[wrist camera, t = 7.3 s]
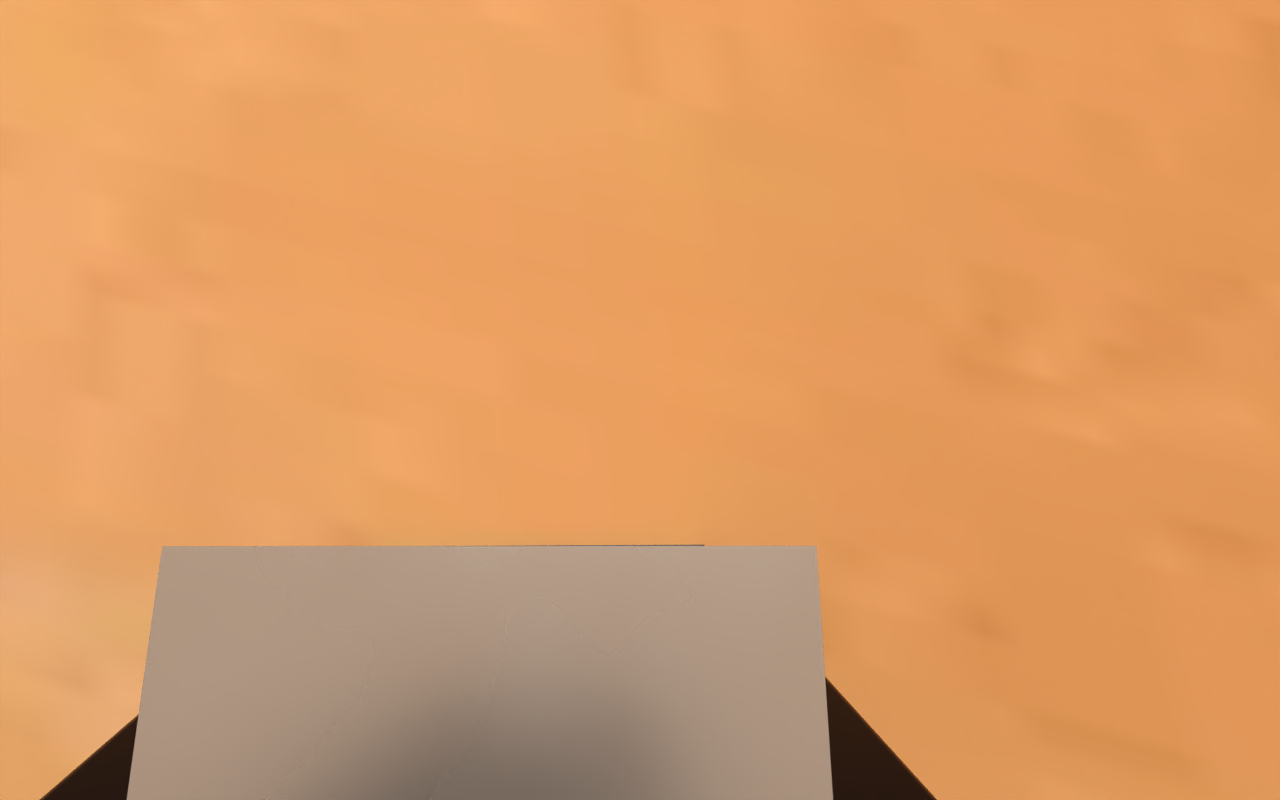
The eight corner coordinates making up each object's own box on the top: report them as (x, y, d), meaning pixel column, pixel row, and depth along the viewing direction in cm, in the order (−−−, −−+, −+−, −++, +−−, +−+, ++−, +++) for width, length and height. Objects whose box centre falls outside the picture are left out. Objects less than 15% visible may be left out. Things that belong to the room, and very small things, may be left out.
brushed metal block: (681, 910, 14) (867, 1336, 5) (372, 921, 14) (42, 1403, 5) (675, 598, 15) (816, 545, 7) (393, 600, 15) (163, 546, 6)
